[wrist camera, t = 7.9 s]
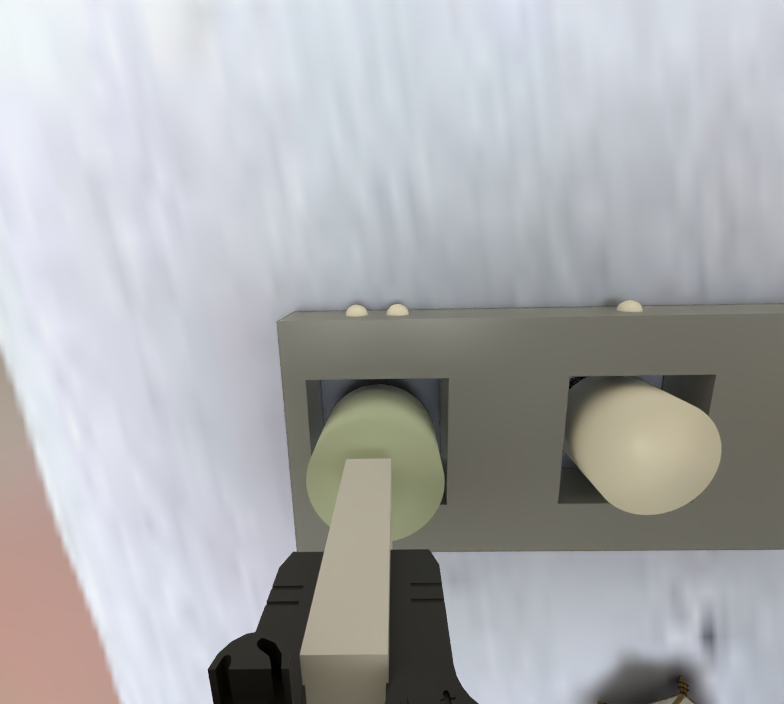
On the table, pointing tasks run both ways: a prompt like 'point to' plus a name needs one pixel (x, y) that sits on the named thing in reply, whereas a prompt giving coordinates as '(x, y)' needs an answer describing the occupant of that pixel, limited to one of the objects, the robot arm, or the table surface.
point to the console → (553, 417)
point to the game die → (675, 696)
